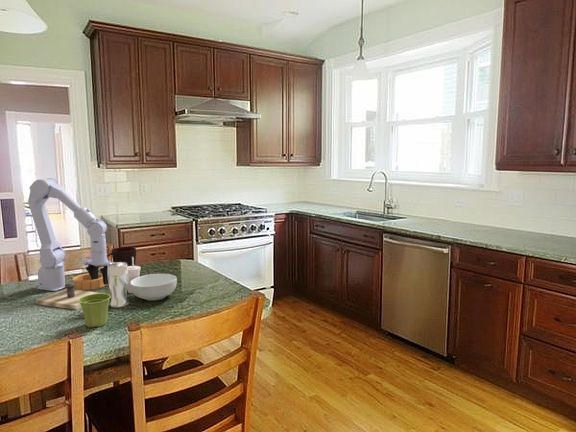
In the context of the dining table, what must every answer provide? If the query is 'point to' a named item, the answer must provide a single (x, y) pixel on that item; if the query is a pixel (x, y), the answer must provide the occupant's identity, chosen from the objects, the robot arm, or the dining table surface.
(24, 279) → the dining table surface
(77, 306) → the peg board
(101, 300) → the plant pot
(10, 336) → the dining table surface
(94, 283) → the faceted orange ring
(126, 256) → the cup
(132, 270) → the smoothie
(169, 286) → the cereal bowl
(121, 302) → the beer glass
